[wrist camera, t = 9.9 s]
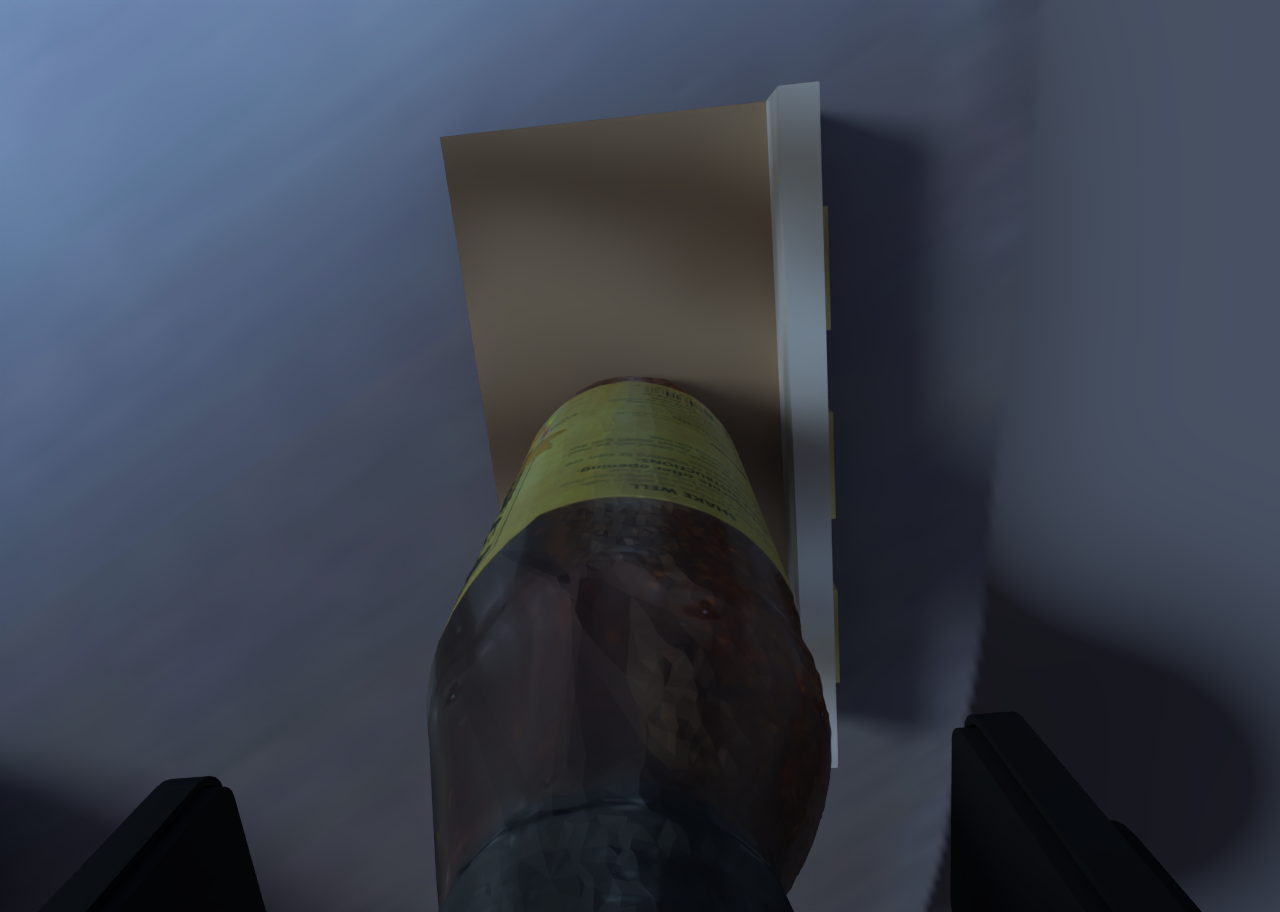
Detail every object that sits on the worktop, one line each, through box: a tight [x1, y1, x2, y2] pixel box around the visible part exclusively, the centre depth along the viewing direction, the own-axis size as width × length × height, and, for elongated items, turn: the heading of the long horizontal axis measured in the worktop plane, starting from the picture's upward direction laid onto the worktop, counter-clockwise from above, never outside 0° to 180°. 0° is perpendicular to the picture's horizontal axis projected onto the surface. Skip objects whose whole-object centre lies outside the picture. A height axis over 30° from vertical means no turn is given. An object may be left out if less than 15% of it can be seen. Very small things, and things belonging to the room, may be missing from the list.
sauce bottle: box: [427, 376, 832, 912], centre depth 13 cm, size 6×6×20 cm
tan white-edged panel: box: [440, 81, 840, 768], centre depth 22 cm, size 20×10×4 cm, turn 6°
